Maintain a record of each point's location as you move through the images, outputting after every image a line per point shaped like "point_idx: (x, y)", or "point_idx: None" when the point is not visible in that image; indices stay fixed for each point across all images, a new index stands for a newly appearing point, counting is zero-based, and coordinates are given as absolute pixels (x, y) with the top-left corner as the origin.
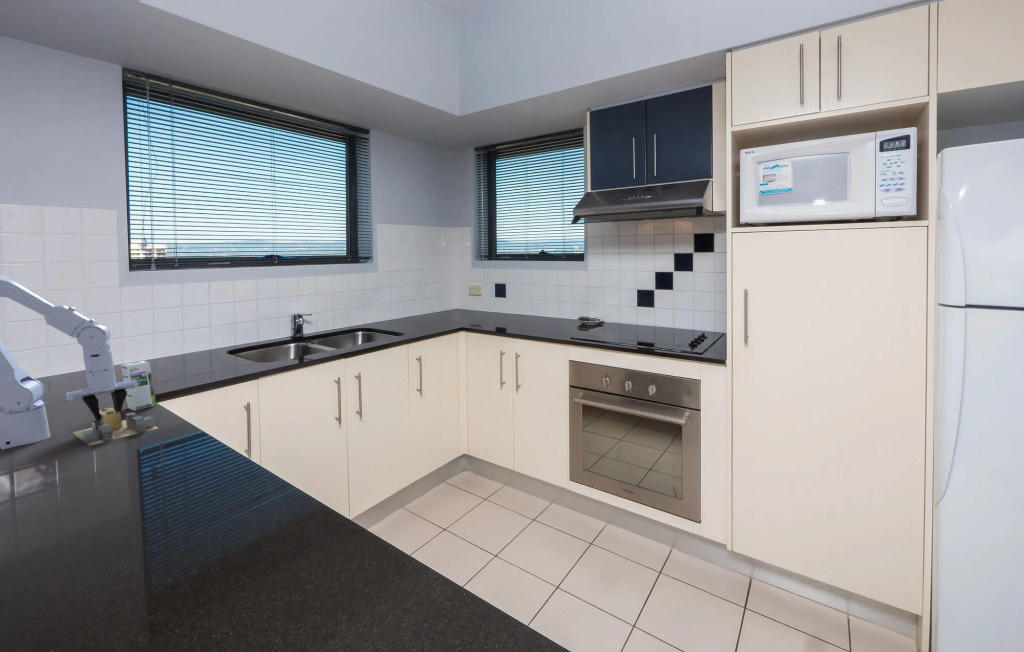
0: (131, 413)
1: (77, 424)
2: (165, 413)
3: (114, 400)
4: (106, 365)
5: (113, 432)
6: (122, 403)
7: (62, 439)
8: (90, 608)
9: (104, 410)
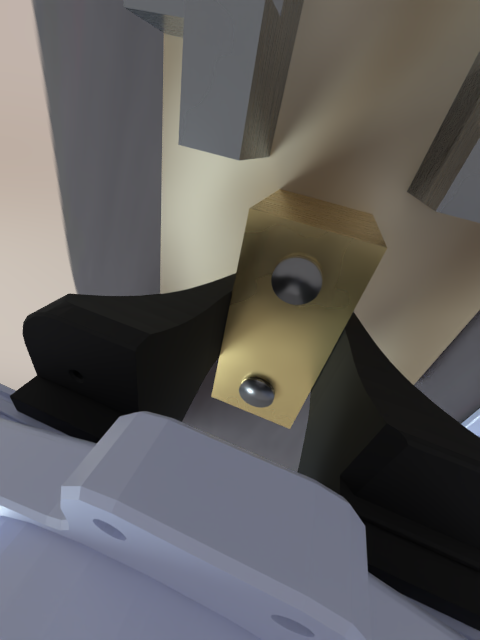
0: (203, 95)
1: (284, 463)
2: (74, 267)
3: (189, 378)
4: None
5: (389, 103)
6: (171, 294)
7: (468, 379)
8: None
9: (265, 382)
